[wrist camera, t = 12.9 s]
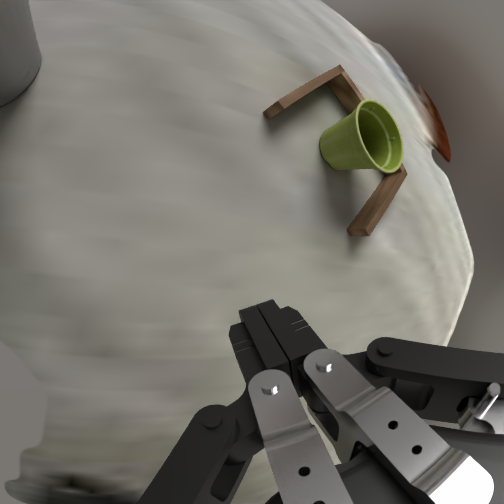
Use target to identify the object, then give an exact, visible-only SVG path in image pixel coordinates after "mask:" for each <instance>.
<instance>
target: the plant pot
mask: <svg viewBox="0 0 504 504" xmlns="http://www.w3.org/2000/svg"><path fill="white" fill-rule="evenodd" d="M320 149H321V153H322V155H323V158H324V159H325V160H326V161H327V162H328V163H329V164H330V165H331V167H332V168H334V169H336V170H352V169H375V170H380V171H382V172H385V173H392V172H395V171H396V170H398V169H399V167H400V166H401V163H402V161H403V141H402V136H401V133H400V130H399V128H398V125H397V123H396V121H395V120H394V118H393V116H392V115H391V114H390V112H389V111H388V110H387V109H386V108H385V107H384V106H383V105H382V104H380V103H379V102H377V101H375V100H371V99H366V100H364V101H362V102H360V103H359V105H358V106H357V108H356V109H355V110H354V111H353V112H352V113H351V114H350V115H348V116H347V117H345V118H344V119H342V120H341V121H339V122H338V123H336V124H335V125H333V126H332V127H330V128H329V129H327V130H326V131H325V132H324V133H323V135H322V136H321V138H320Z"/></svg>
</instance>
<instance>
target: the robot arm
mask: <svg viewBox="0 0 504 504" xmlns="http://www.w3.org/2000/svg"><path fill="white" fill-rule="evenodd" d="M40 64H41V53H40V49H39V46H38V42H37V38H36V33H35V29H34V25H33V21H32V16H31V12H30V7H29V1H28V0H0V106H2V105H4V104H7V103H8V102H10V101H12V100H13V99H15V98H16V97H17V96H19V95H20V94H21V93H22V92H23V91H24V90H25V89H26V88H27V87H28V86H29V84H30V83H31V82H32V81H33V79H34V78H35V76H36V75H37V72H38V70H39V68H40ZM239 315H240V319H241V323H238V324H235V325H232V326H231V327H230V331H229V338H230V341H231V344H232V347H233V350H234V353H235V356H236V359H237V361H238V364H239V367H240V369H241V372H242V374H243V377H244V379H245V382H246V388H245V391H244V393H243V394H242V396H241V397H240V398H239V399H238V400H236V401H235V402H233V403H232V404H230V405H229V406H227V407H226V406H223V405H209V406H206V407H204V408H202V409H200V410H199V411H198V412H197V413H196V414H195V415H194V417H193V419H192V420H191V422H190V423H189V425H188V427H187V428H186V430H185V431H184V433H183V434H182V436H181V438H180V439H179V441H178V442H177V444H176V445H175V447H174V449H173V450H172V452H171V453H170V455H169V456H168V458H167V459H166V461H165V462H164V464H163V465H162V467H161V469H160V470H159V472H158V473H157V475H156V476H155V478H154V479H153V481H152V482H151V483H150V485H149V486H148V488H147V489H146V491H145V492H144V494H143V495H142V497H141V498H140V500H139V501H138V502H137V504H230V503H231V501H232V499H233V497H234V495H235V493H236V491H237V489H238V487H239V485H240V483H241V481H242V479H243V477H244V475H245V473H246V471H247V468H248V466H249V464H250V462H251V460H252V457H253V455H255V454H256V453H258V452H259V451H260V450H262V449H263V448H265V450H266V453H267V456H268V459H269V462H270V465H271V468H272V472H273V475H274V478H275V481H276V483H277V486H278V489H279V492H277V493H276V494H275V495H273V496H272V497H271V498H270V499H269V500H268V501H267V502H266V503H265V504H504V354H502V353H493V352H483V351H475V350H467V349H459V348H452V347H445V346H438V345H432V344H425V343H419V342H413V341H407V340H401V339H396V338H390V337H381V338H378V339H375V340H374V341H372V342H371V343H370V344H369V345H368V347H367V351H365V352H360V353H355V354H349V355H342V354H340V353H339V352H338V351H336V350H333V349H328V348H327V347H326V346H325V344H324V343H323V342H322V341H321V339H320V338H319V337H318V336H317V334H316V333H315V332H314V331H313V329H312V328H311V327H310V326H309V325H308V323H307V322H306V321H305V320H304V318H303V317H302V316H301V314H300V313H299V312H298V311H297V310H295V309H293V308H291V307H289V306H287V307H284V308H281V309H280V308H279V307H278V305H277V304H276V303H275V301H274V300H273V299H271V300H269V301H266V302H263V303H260V304H257V305H256V306H255V305H254V306H251V307H248V308H245V309H242V310H239ZM302 396H303V397H304V399H305V400H306V402H307V409H308V411H309V413H310V415H311V416H312V417H313V419H314V420H315V421H316V423H317V424H318V426H319V427H320V428H321V430H322V431H323V432H324V434H325V435H326V436H327V438H328V439H329V441H330V442H331V443H332V445H333V446H334V448H335V451H336V454H337V456H338V458H339V460H340V461H341V463H342V464H338V465H334V463H333V461H332V459H331V457H330V455H329V453H328V451H327V448H326V446H325V444H324V442H323V440H322V438H321V436H320V434H319V432H318V430H317V428H316V427H315V426H314V425H312V424H311V423H310V421H309V419H308V416H307V414H306V412H305V410H304V408H303V406H302V403H301V401H300V399H299V397H302ZM421 418H423V419H428V420H435V421H442V422H449V423H458V424H459V426H460V428H459V430H457V429H451V428H445V427H438V426H433V425H427V424H426V423H425V422H424V421H423V420H422V419H421Z"/></svg>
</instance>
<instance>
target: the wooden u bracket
mask: <svg viewBox="0 0 504 504" xmlns="http://www.w3.org/2000/svg"><path fill="white" fill-rule="evenodd" d="M326 82H327V84H328V85H329V86H330V88H331V89H332V90H333V92H334V93H335V94H336V96H337V97H338V99H339V100H340V101H341V103H342V104H343V106H344V107H345V109H346V110H347V111H348V113H349V114H351V113H352V112H353V111H354V110H355V109H356V108H357V106H358V105H359V103H360V102H362V101H364V100H365V99H364V97H363V96H362V94H361V93H360V91H359V90H358V88H357V87H356V86H355V84H354V83H353V81H352V80H351V79H350V77H349V76H348V74H347V73H346V72H345V70H344V69H343V68H342V67H341V65H339V66H337V67H335V68H333V69H331V70H329V71H327V72H325V73H324V74H322V75H320V76H318V77H316V78H315V79H313V80H311V81H309V82H308V83H306V84H304V85H303V86H301V87H299V88H298V89H296V90H294V91H293V92H291V93H289V94H288V95H286V96H285V97H283V98H281V99H280V100H278V101H277V102H276V103H274V104H273V105H272V106H270V107H269V108H268V109H266V110H265V111H264V112H263V113H264V114H265V115H266V116H267V118H268V119H271V118H272V117H274V116H275V115H276V114H278V113H279V112H281V111H282V110H284V109H285V108H287V107H288V106H290V105H291V104H293V103H294V102H296V101H297V100H299V99H300V98H302V97H303V96H305V95H306V94H308V93H309V92H311V91H313V90H314V89H316V88H317V87H319V86H321V85H322V84H324V83H326ZM385 174H386V175H385V177H384V178H383V180H382V181H381V183H380V184H379V185H378V187H377V188H376V190H375V191H374V193H373V194H372V195H371V197H370V198H369V200H368V201H367V202H366V204H365V205H364V207H363V208H362V209H361V211H360V212H359V214H358V215H357V216H356V218H355V219H354V220H353V222H352V223H351V224H350V226H349V227H348V228H347V231H348V232H349V234H350V236H370V234H371V233H372V231H373V230H374V228H375V227H376V225H377V223H378V222H379V220H380V219H381V217H382V216H383V214H384V212H385V211H386V209H387V208H388V206H389V204H390V203H391V201H392V200H393V198H394V196H395V195H396V193H397V191H398V190H399V188H400V186H401V184H402V183H403V181H404V179H405V178H406V176H407V172H406V170H405V168H404V166H403V164H402V163H401V166H400V167H399V169H398V170H396V171H395V172H392V173H385Z"/></svg>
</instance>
